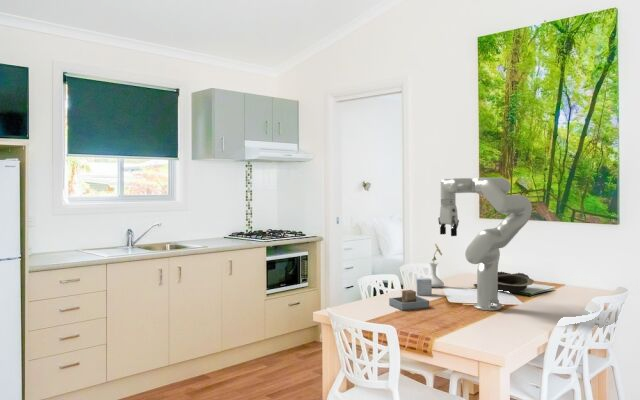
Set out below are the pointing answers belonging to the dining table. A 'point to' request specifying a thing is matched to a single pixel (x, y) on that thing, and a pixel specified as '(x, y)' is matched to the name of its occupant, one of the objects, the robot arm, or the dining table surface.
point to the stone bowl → (513, 282)
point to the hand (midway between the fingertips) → (448, 235)
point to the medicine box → (424, 286)
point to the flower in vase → (435, 280)
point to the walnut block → (408, 296)
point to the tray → (409, 303)
